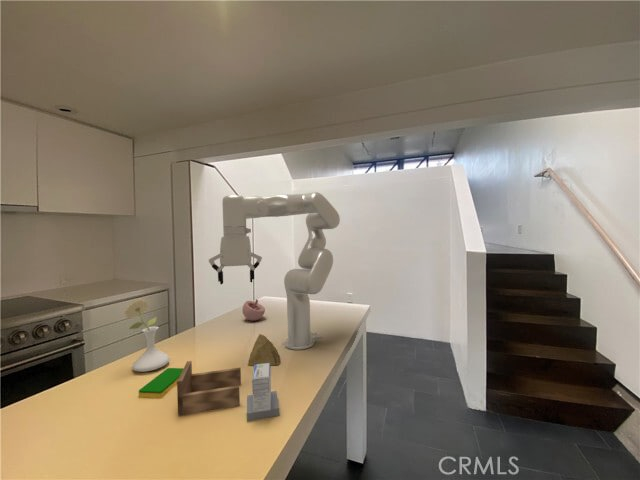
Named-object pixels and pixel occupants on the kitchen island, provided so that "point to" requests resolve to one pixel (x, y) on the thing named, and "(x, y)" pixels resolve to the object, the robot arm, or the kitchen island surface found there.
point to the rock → (264, 352)
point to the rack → (207, 390)
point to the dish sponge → (161, 384)
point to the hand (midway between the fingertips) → (236, 282)
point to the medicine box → (261, 387)
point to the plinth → (262, 414)
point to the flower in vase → (151, 356)
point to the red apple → (253, 310)
